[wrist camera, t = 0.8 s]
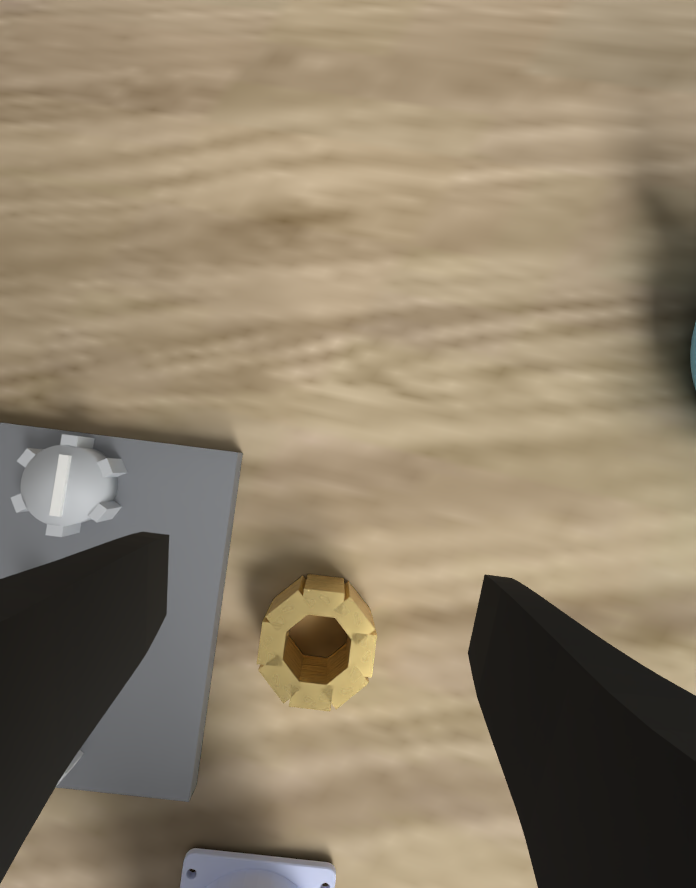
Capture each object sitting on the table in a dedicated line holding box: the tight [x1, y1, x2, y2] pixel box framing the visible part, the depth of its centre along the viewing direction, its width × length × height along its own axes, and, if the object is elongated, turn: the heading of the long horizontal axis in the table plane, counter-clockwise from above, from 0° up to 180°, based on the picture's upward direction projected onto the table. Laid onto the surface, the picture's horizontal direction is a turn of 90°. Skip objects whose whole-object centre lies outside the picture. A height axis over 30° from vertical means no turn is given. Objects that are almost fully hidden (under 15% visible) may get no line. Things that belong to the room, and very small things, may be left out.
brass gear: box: [257, 574, 377, 711], centre depth 23 cm, size 6×6×3 cm
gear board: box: [0, 423, 243, 802], centre depth 22 cm, size 18×16×4 cm
